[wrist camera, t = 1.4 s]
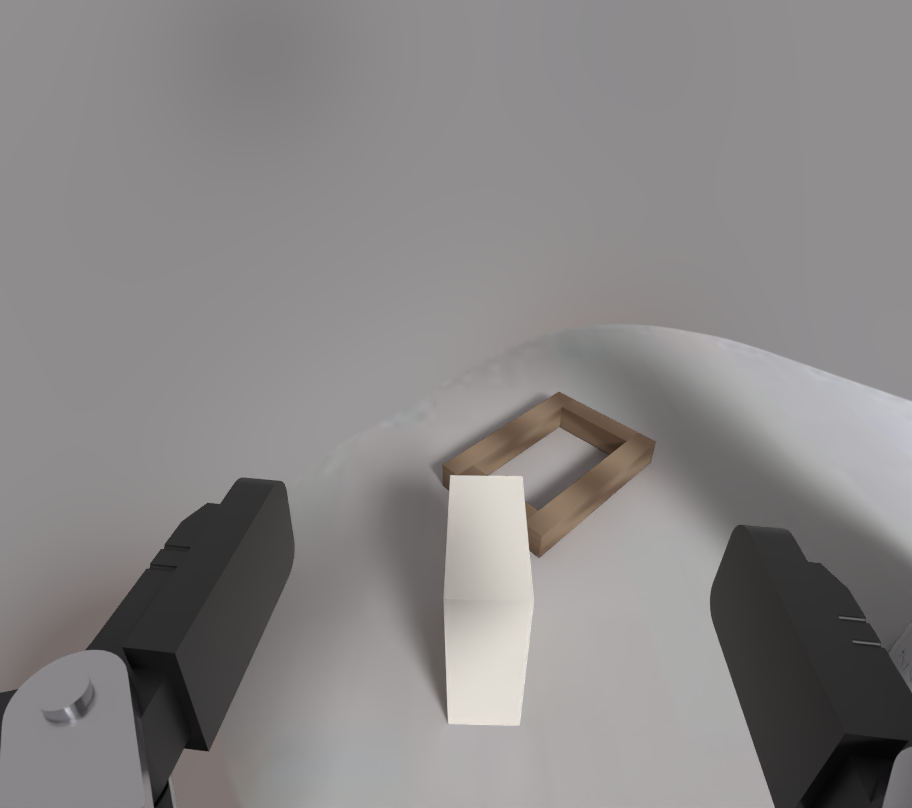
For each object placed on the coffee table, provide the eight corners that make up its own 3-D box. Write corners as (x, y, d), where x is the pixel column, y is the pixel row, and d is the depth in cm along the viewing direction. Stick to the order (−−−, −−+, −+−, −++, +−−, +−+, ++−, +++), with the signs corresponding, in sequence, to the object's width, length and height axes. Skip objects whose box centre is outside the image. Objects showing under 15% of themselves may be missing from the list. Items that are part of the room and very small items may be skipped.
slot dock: (556, 411, 49) (558, 391, 48) (650, 462, 43) (655, 441, 42) (443, 485, 42) (442, 464, 40) (539, 557, 36) (541, 536, 35)
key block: (512, 601, 34) (522, 476, 28) (519, 725, 28) (533, 600, 22) (452, 600, 34) (450, 475, 28) (448, 723, 28) (443, 599, 22)
